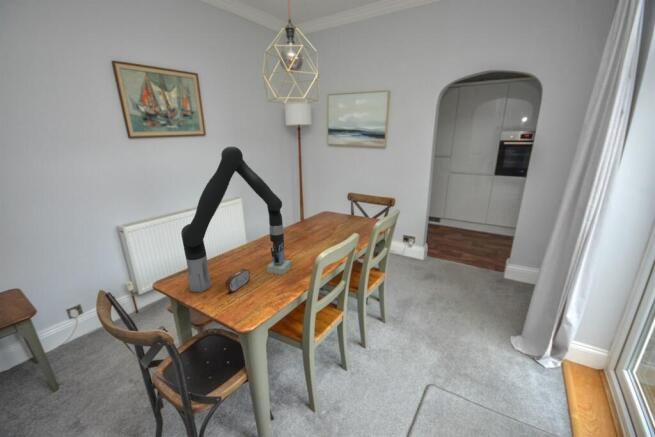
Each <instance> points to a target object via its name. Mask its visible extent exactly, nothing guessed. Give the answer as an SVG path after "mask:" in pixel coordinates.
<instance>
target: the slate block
mask: <svg viewBox="0 0 655 437" xmlns="http://www.w3.org/2000/svg"><path fill="white" fill-rule="evenodd" d="M276 251H278V250H276ZM278 257H279V263H275V259H274V257H272V261H273V264H282V263H283V262H284V261H285V260H286V259H285V248H284V249H280V252H279V253H278Z"/></svg>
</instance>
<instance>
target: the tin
mask: <svg viewBox="0 0 655 437" xmlns="http://www.w3.org/2000/svg"><path fill="white" fill-rule="evenodd" d="M250 274H251V273H250V271H249V269H246V268H241V269H238V270H237V271H236V272H233V273H232V274H230V275H229V276H228V277H227V279H226V281H225V284H224V285H225V289H226V290H227V291H228V292H236V291H238V290H239V289H241V287H243V286H245V285H247V283H248V282H249V280H250Z"/></svg>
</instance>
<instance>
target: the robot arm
mask: <svg viewBox="0 0 655 437" xmlns="http://www.w3.org/2000/svg"><path fill="white" fill-rule="evenodd" d="M220 156H221V159H220V162H219V165H218V167H217V169H216V171H215V172H214V174H213V175H212V176H211V178H210V179H209V181H208V182H207V183H206V185H205V187H204V189H203V191H202V193H201V195H200V197H199V200H198V203H197V206H196V209H195V210H196V211H195V214H194V217H193V218H192V220H191V222H190V223H188V224H186V225H185V226H183V228H182V229H181V233H180V234H181V240H182V244H183V250H184V255H185V260H186V267H187V270H188V272H187V274H186V275H187V281H188V285H189V291H190V292H194V293H202V292H203V291H206V290H208V289H210V288H211V287H212V283H211V277H210V276H211V275H210V269H209V265H208V264H209V263H208V256H207V252H206V246H205V242H204V238H205V237H206V233H207V231H208V228H209V226H210V223H211V221H212V219H213V217H214V216H215V214H216V212H217V211H218V208H219V206H220V205H221V203H222V200H224V197H225V194H226V193H227V190H228V188H229V185H230V181H231V179H232V178H233V175H234V174H235V173H237V174H238V175H239V176H240V177H241V178H242V179H243V180H244V181H245V182H246V184H247V185H248V186H249V188H251V189H252V190H253V191H254V192H255V194H256V196H258V197H260V199H262V200H263V202H264V203H265V204H266V206H267V212H268V221H269V223H268V224H269V229H268V230H269V239H270V240H269V241H270V242H271V243H272V247H270V252H271V257H272V258H273V257H274V259H275V263H279V257H278V253H279V252H280V249H284V250H285V234H284V232H285V230H284V224H283V215H282V213H281V208H282V207H283V202H282V200H281V198H279V196H278V195H277V194H275V193H274V192H273V191H272V189H271V188H270V187H269V184H267V183H266V182H265V181H264V179H262V177H260V176H259V175H258V174H257V173H256V172H255V171H253V169H252V168H251V167H250V166H249V165H248V164H247V162H246V161H245V160H244V157H243V156H244V154H243V151H241V149H239V148H238V147H236V146H227V147H225V148H224V149H223V150H222V151H221V154H220ZM276 250H278V251H276Z"/></svg>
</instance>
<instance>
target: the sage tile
mask: <svg viewBox="0 0 655 437" xmlns="http://www.w3.org/2000/svg"><path fill="white" fill-rule="evenodd" d="M291 267H292V260H286V259H285V261H284V262H283V263H282V264H273V260H272V261H271V262H270V263H269V264H268V265H267V266H266V269H267V273H270V274H278V275H285V274H286V273H287V272H288V271H289V269H290V268H291Z"/></svg>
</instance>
